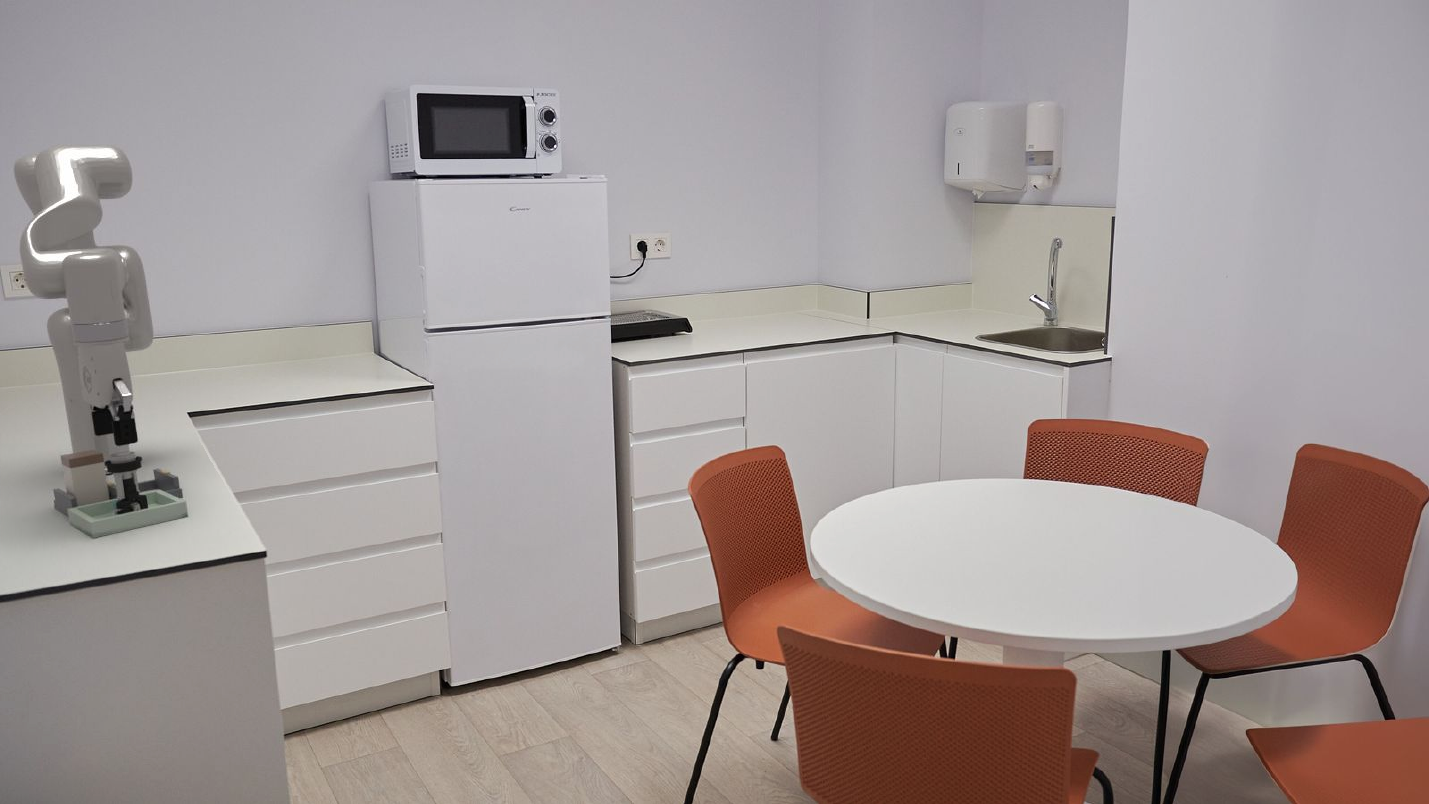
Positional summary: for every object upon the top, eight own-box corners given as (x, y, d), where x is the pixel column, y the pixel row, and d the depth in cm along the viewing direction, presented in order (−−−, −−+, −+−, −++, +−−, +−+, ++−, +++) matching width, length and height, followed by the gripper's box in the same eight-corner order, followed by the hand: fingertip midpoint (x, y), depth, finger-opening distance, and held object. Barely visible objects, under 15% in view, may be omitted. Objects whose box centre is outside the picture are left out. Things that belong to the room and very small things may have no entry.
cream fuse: (69, 510, 184) (60, 455, 182) (102, 503, 188) (93, 449, 186) (77, 515, 181) (68, 459, 179) (111, 508, 184) (102, 453, 183)
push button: (124, 522, 173) (114, 460, 171) (98, 520, 175) (88, 459, 173) (157, 510, 179) (148, 450, 178) (131, 508, 181) (122, 449, 179)
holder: (54, 508, 186) (51, 486, 185) (158, 486, 197) (155, 466, 197) (75, 520, 178) (72, 498, 177) (183, 497, 189) (180, 476, 188)
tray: (69, 523, 176) (67, 508, 175) (161, 503, 186) (159, 489, 185) (93, 538, 168) (90, 522, 167) (188, 516, 177) (186, 501, 177)
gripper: (56, 330, 174) (73, 435, 178) (91, 341, 162) (108, 453, 166) (108, 324, 179) (123, 426, 183) (145, 334, 167) (160, 443, 171)
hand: (116, 439), depth 175 cm, fingers open, 9 cm apart
